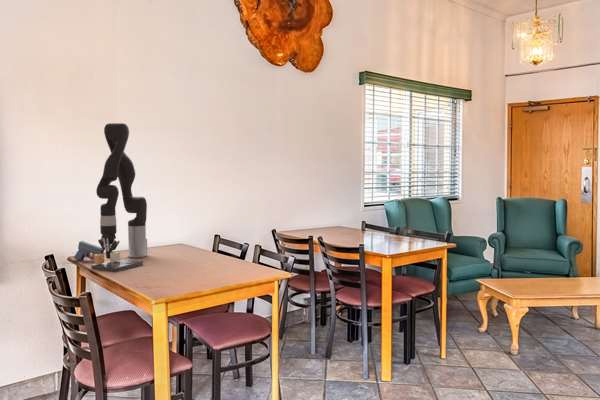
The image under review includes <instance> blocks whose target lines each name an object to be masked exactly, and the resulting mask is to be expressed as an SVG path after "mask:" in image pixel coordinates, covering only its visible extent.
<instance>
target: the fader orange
mask: <svg viewBox="0 0 600 400" xmlns="http://www.w3.org/2000/svg"><path fill="white" fill-rule="evenodd" d="M104 262H105V254H96V255H94V260H93V264H102V263H104Z"/></svg>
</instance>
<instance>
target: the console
mask: <svg viewBox="0 0 600 400" xmlns="http://www.w3.org/2000/svg"><path fill="white" fill-rule="evenodd" d="M141 266H144V261H143V260H135V259H126V258H120V261H116V262H111V261H110V260H108V261H104V263H102V264H94V263H92V264H91V265H90V268H91V270H98V271H104V272H113V273H117V272H118V273H119V272H122V271H127V270H130V269H133V268H137V267H141Z"/></svg>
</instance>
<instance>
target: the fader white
mask: <svg viewBox="0 0 600 400" xmlns="http://www.w3.org/2000/svg"><path fill="white" fill-rule="evenodd" d="M120 259H121V252H120V251H112V252H111V253H110V259H109V261H111V262H116V261H120Z"/></svg>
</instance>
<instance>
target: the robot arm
mask: <svg viewBox="0 0 600 400" xmlns="http://www.w3.org/2000/svg"><path fill="white" fill-rule="evenodd" d="M103 131H104V132H103V133H104V137H105V141H106V143H107V145H108V148H109V151H110V154H109V156H107V158H106V160H105V162H104V167H103V172H102V175H101V178H100V180H99V182H98V184H97V187H96V196H97V198H99V199H102V200H103V199H104V200H107V201H106V202H105V203H102V204H100V219H99V221H100V222H99V225H100V229H99V230H100V232H99V233H100V235H101V238H100V239H98V240H97V241H98V244H99V245H100V247H101V248H102V249H103V250H104V252H105V257H106V259H107V260H108V259H109V260H110V253H111V252H114V251H116V249H117V247H118V246H119V244H120V243H121V241H120V240H117V236H116V234H117V231H118V230H117V216H116V215H117V213H116V212H117V211H116V206H117V202H118V198H119V193H120V192H119V189H118V186H116V185H114V184H111V183H112V182H115V181H117V180H118V181H119V186H120V189H121V196H122V203H123V207H124V209H125V212H126V213H129V214H136V215H135V217H133V218H132V219H130V220H128V221H127V234H128V235H127V236H128V238H127V239H128V258H143V257H146V256H148V238H147V237H146V236H147V234H146V229H147V228H146V223H147V216H148V215H147V211H148V203H147V199H146V197H144V196H133V193H132V186H133V183H134V181H135V179H136V169H135V165H134V163H133V161H132V160H131V158H130V157H129V155H127V153H126V152H125V149H126V146H127V143H128V141H129V137H130V130H129V126H128V125H127V124H126V123H123V122H122V123H121V122H120V123H119V122H117V123H115V122H114V123H106V124H105V126H104V129H103Z"/></svg>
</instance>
